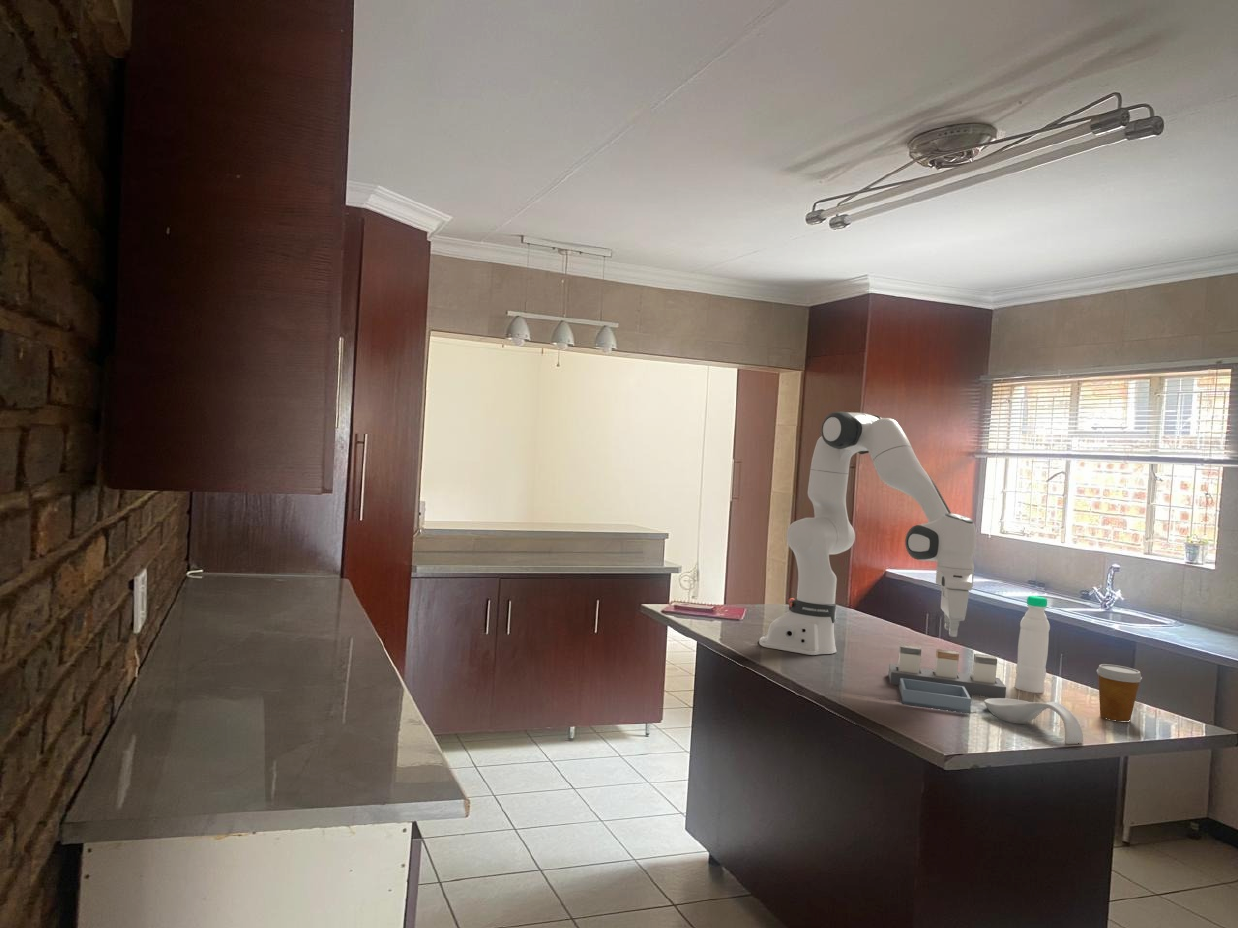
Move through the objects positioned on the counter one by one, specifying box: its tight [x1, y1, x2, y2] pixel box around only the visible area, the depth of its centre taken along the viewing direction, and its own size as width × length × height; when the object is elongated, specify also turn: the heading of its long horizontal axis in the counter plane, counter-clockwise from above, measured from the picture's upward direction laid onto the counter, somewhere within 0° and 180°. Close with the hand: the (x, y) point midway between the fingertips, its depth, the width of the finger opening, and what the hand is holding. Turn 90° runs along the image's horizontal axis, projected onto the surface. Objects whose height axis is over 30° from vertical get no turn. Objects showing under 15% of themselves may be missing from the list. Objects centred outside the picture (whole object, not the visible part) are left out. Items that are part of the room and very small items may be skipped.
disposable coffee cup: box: [1096, 663, 1143, 721], centre depth 214 cm, size 10×10×12 cm
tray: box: [898, 678, 972, 714], centre depth 215 cm, size 15×12×4 cm
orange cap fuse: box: [934, 648, 960, 678], centre depth 228 cm, size 5×4×9 cm
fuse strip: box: [888, 663, 1007, 699], centre depth 228 cm, size 27×10×4 cm, turn 76°
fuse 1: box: [897, 644, 922, 673], centre depth 230 cm, size 5×4×9 cm
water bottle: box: [1014, 595, 1051, 694], centre depth 233 cm, size 7×7×25 cm
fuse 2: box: [972, 653, 998, 683], centre depth 226 cm, size 5×4×9 cm
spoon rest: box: [983, 697, 1084, 745], centre depth 201 cm, size 24×12×7 cm, turn 22°
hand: (950, 633), depth 228 cm, fingers open, 8 cm apart
